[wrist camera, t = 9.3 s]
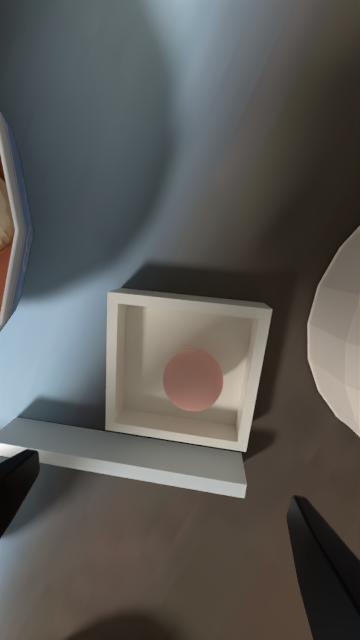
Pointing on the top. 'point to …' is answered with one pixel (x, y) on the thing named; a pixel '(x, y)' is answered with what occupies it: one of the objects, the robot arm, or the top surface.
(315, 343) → the kettle
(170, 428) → the dish
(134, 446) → the wall
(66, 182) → the top surface
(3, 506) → the robot arm
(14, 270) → the ramen bowl
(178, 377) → the ball
